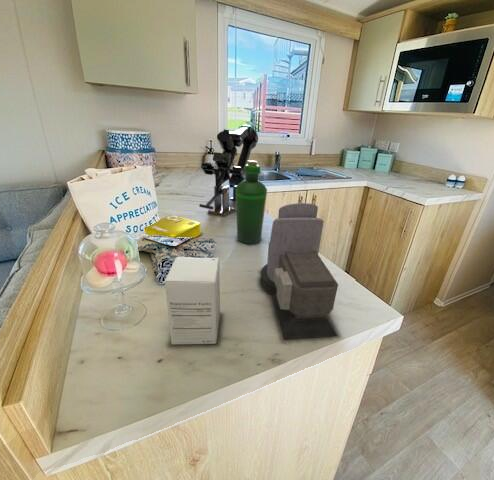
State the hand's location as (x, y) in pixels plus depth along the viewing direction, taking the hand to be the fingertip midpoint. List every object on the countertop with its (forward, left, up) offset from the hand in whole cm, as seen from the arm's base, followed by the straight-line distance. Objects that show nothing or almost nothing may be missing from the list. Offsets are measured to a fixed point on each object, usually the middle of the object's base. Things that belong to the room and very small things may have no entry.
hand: (216, 187), depth 117 cm
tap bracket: (-4, 0, -12) cm, 13 cm away
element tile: (+28, -1, -12) cm, 30 cm away
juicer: (+42, +49, -12) cm, 65 cm away
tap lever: (+1, 0, -6) cm, 6 cm away
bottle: (+17, +24, -12) cm, 32 cm away
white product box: (+63, +34, -12) cm, 72 cm away
